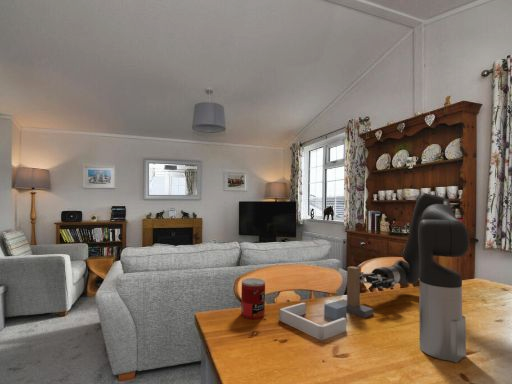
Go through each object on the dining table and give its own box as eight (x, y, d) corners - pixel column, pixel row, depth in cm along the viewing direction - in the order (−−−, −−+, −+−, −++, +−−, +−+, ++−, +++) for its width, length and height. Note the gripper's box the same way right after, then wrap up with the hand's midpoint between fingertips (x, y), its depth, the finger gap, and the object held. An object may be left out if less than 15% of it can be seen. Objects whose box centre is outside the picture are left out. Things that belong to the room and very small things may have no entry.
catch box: (346, 330, 86) (346, 318, 86) (321, 340, 79) (321, 327, 79) (303, 312, 99) (303, 302, 99) (279, 320, 93) (279, 309, 93)
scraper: (373, 314, 99) (373, 269, 100) (364, 318, 96) (364, 271, 97) (343, 304, 108) (343, 263, 109) (334, 307, 105) (335, 265, 106)
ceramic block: (346, 318, 96) (346, 305, 96) (336, 321, 93) (337, 309, 93) (333, 313, 100) (333, 301, 100) (324, 316, 97) (324, 304, 97)
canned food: (255, 321, 91) (256, 285, 92) (236, 315, 96) (236, 281, 97) (269, 314, 97) (269, 280, 98) (250, 308, 102) (251, 276, 103)
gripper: (369, 263, 121) (345, 268, 111) (403, 270, 110) (380, 276, 100) (369, 282, 121) (344, 288, 111) (403, 290, 110) (380, 298, 100)
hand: (361, 282), depth 106 cm, fingers open, 8 cm apart
